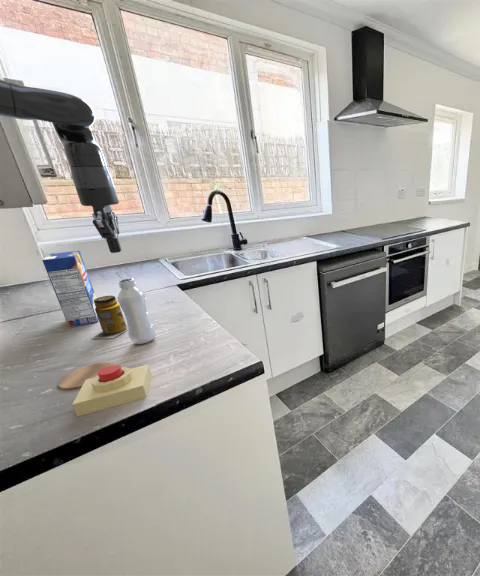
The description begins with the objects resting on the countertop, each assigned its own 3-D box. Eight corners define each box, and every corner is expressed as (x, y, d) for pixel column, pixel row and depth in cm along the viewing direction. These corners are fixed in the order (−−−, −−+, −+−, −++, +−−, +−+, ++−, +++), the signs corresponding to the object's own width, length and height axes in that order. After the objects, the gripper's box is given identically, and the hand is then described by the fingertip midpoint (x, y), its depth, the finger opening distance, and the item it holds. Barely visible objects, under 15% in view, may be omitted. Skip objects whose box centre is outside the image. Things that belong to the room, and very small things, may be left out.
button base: (77, 416, 65) (68, 397, 63) (90, 390, 73) (83, 372, 72) (146, 397, 71) (140, 378, 69) (151, 375, 79) (146, 358, 77)
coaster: (51, 395, 72) (50, 393, 72) (67, 371, 81) (66, 369, 81) (111, 380, 77) (110, 378, 77) (120, 359, 86) (119, 358, 86)
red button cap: (98, 384, 68) (95, 376, 67) (102, 375, 71) (100, 367, 70) (121, 379, 70) (118, 371, 69) (124, 370, 73) (122, 362, 72)
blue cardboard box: (74, 316, 115) (50, 253, 107) (101, 311, 119) (79, 250, 111) (69, 328, 106) (42, 260, 98) (97, 322, 110) (74, 256, 102)
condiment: (133, 326, 106) (123, 294, 102) (113, 338, 98) (101, 303, 94) (112, 327, 106) (101, 294, 102) (90, 339, 98) (77, 304, 94)
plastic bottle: (126, 347, 92) (105, 284, 86) (139, 337, 99) (121, 277, 92) (150, 345, 93) (131, 283, 87) (161, 335, 99) (144, 276, 93)
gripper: (84, 186, 83) (105, 249, 89) (65, 186, 72) (91, 259, 78) (119, 185, 86) (137, 246, 92) (106, 185, 75) (128, 255, 81)
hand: (116, 252), depth 85 cm, fingers closed
